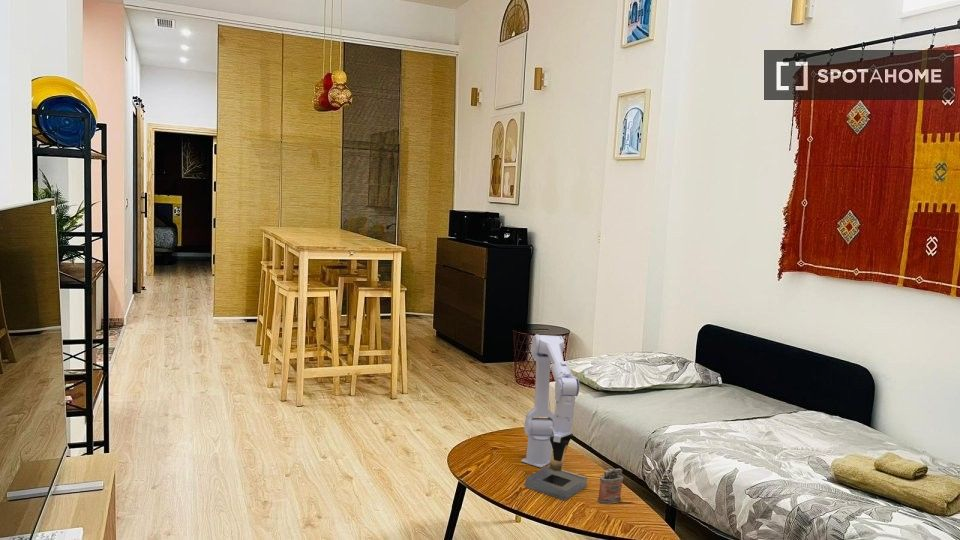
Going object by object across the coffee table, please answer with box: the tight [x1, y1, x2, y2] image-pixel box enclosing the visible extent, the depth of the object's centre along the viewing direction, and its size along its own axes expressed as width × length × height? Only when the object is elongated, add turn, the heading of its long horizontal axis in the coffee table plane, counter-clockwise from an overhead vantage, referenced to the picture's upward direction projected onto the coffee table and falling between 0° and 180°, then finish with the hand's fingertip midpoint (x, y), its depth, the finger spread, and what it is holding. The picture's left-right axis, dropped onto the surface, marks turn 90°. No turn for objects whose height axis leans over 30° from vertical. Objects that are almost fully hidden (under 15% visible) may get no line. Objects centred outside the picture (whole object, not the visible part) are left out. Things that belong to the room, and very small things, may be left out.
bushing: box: [548, 445, 568, 471], centre depth 228 cm, size 4×4×8 cm
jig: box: [524, 464, 588, 501], centre depth 231 cm, size 15×14×3 cm
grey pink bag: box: [597, 468, 624, 505], centre depth 223 cm, size 8×3×10 cm, turn 117°
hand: (559, 458), depth 228 cm, fingers closed on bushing, 4 cm apart
